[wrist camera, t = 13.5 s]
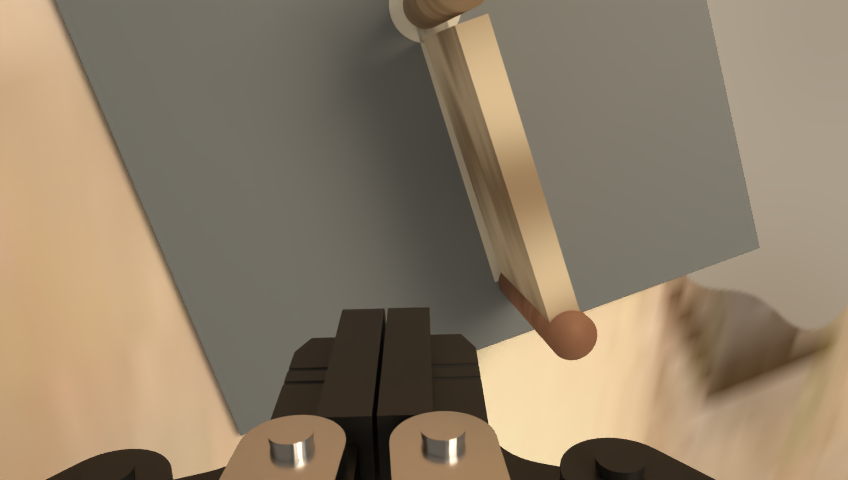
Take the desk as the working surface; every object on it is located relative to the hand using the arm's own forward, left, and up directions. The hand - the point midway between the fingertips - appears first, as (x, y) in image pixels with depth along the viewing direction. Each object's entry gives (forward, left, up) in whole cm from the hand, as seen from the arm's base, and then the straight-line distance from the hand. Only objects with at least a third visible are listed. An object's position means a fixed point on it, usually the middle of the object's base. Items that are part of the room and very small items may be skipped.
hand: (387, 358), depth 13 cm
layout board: (-3, +5, -22) cm, 22 cm away
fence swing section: (+1, +6, -21) cm, 22 cm away
